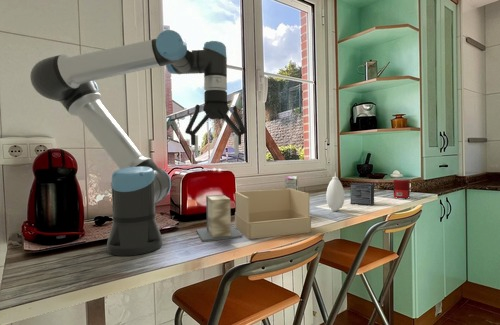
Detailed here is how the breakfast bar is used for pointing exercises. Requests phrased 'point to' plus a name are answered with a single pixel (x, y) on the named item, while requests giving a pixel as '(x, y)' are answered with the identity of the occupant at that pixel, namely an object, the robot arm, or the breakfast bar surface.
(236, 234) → the mat
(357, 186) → the small box
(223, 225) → the box
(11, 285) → the breakfast bar surface
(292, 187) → the candy bar box
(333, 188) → the air blower bulb
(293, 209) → the carton
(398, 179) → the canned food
